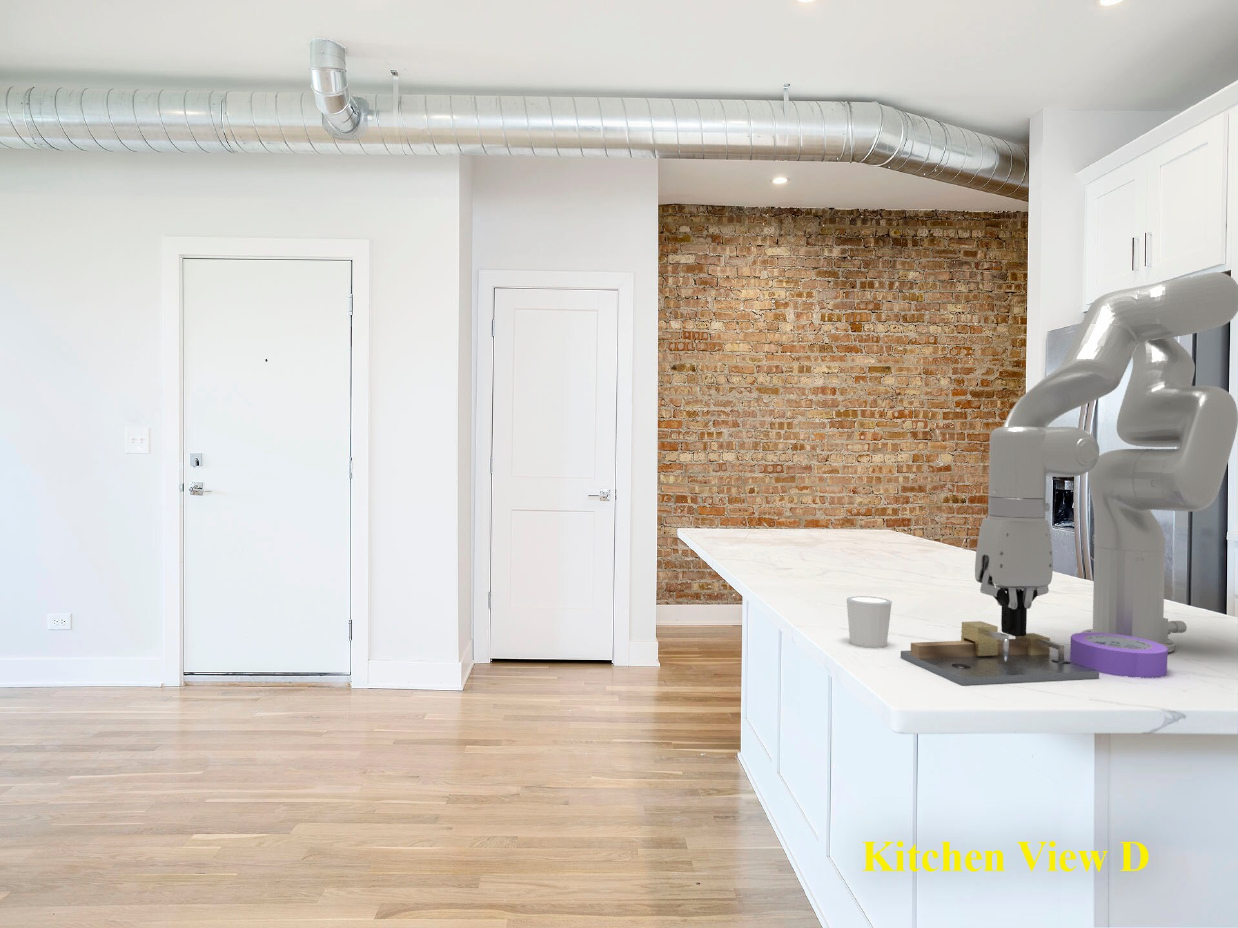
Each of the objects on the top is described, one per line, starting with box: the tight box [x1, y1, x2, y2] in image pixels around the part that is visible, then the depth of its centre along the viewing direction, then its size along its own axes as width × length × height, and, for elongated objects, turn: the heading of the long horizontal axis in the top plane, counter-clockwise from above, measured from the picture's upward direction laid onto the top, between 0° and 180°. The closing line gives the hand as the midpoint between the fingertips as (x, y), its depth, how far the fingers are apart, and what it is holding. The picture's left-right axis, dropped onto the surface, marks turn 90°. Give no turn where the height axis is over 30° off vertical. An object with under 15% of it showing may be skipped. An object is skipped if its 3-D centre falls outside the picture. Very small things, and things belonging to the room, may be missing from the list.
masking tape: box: [1069, 632, 1169, 679], centre depth 109 cm, size 12×12×4 cm
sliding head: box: [960, 620, 1010, 661], centre depth 109 cm, size 3×8×4 cm, turn 12°
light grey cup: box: [846, 595, 892, 649], centre depth 121 cm, size 7×7×7 cm
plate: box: [900, 649, 1100, 686], centre depth 108 cm, size 21×14×1 cm, turn 102°
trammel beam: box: [910, 632, 1065, 661], centre depth 109 cm, size 21×7×2 cm, turn 102°
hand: (1013, 633), depth 112 cm, fingers closed
